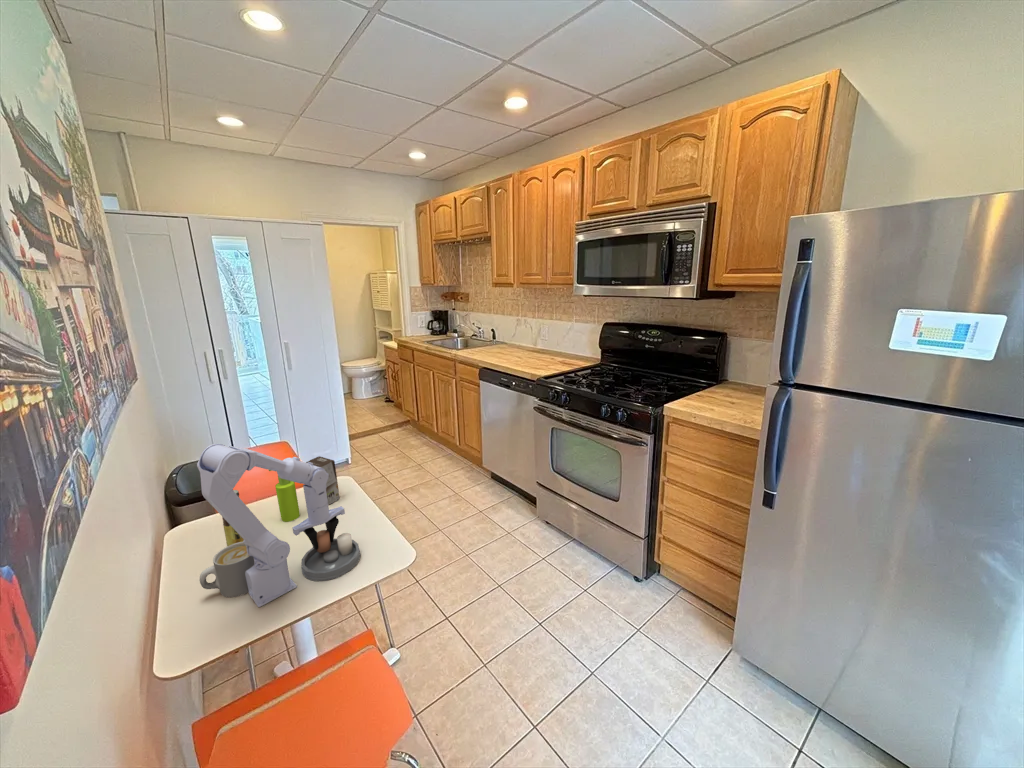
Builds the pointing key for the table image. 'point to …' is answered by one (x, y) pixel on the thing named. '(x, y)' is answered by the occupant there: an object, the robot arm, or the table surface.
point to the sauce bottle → (231, 531)
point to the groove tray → (325, 569)
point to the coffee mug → (229, 571)
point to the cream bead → (345, 544)
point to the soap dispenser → (287, 500)
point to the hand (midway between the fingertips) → (323, 544)
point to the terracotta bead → (323, 541)
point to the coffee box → (332, 479)
